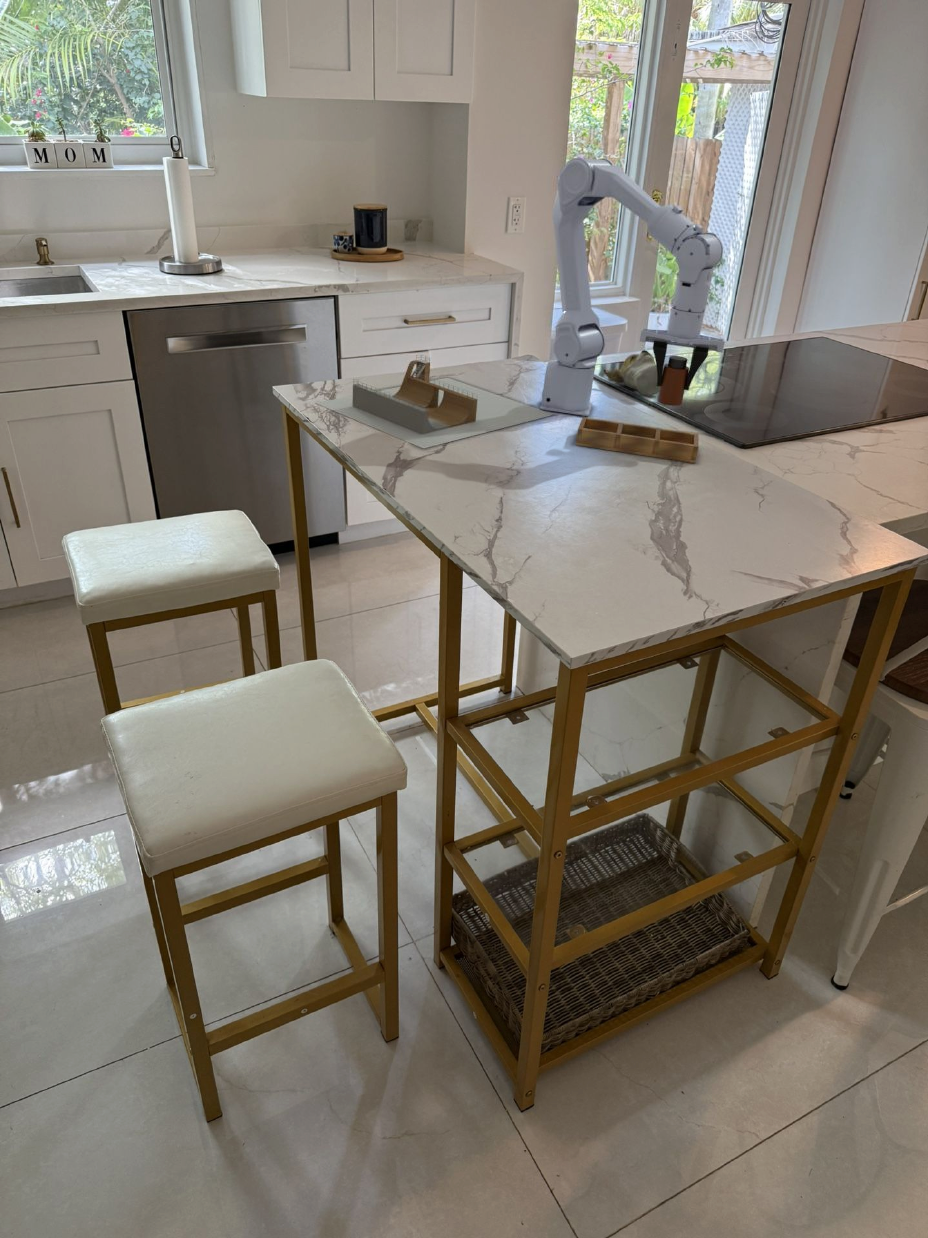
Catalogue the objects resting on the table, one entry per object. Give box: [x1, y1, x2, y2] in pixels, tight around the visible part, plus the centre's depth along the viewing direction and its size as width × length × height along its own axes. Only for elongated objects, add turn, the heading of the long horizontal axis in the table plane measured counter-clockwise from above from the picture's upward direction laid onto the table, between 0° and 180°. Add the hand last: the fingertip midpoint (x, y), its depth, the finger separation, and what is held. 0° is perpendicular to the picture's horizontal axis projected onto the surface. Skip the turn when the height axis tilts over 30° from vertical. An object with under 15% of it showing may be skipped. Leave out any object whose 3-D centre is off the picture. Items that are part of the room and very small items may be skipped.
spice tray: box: [575, 416, 700, 464], centre depth 157 cm, size 21×8×3 cm, turn 77°
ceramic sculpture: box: [602, 349, 664, 397], centre depth 190 cm, size 11×9×15 cm
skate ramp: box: [315, 354, 555, 449], centre depth 165 cm, size 29×35×8 cm
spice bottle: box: [657, 355, 690, 407], centre depth 159 cm, size 4×4×8 cm
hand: (672, 386), depth 160 cm, fingers closed on spice bottle, 4 cm apart
